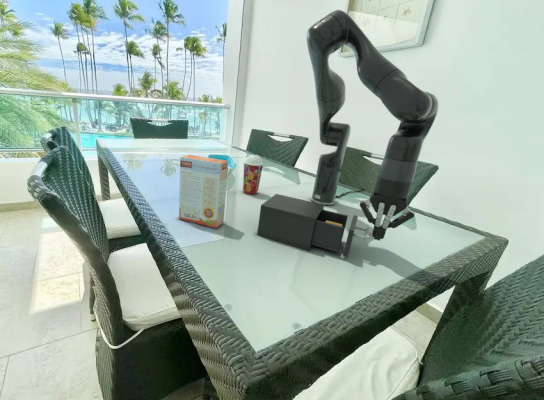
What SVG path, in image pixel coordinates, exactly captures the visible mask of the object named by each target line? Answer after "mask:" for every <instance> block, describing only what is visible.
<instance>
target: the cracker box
mask: <svg viewBox="0 0 544 400" xmlns="http://www.w3.org/2000/svg"><path fill="white" fill-rule="evenodd" d="M179 160H180V161H179V197H178V198H179V201H178V202H179V203H178V219H180V220H183V221H186V222H190V223H194V224H198V225H202V226H206V227H209V228H212V229H213V228H214V229H217V228H219V227H220V226H221V225H222V224H224V221H225V209H226V195H227V185H228V184H227V181H228V168H229V161H228V160H224V159H220V158H219V159H218V158H212V157H207V156H200V155H194V154H187V155H183V156H180V157H179Z"/></svg>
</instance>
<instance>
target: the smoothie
mask: <svg viewBox="0 0 544 400" xmlns="http://www.w3.org/2000/svg"><path fill="white" fill-rule="evenodd" d="M253 149H254V150H253V154H250V155H248V156H247V157H246V158H245V160H244V161H243V182H242V190H243V193H244V194H246V195H256V194H257V193H258V191H259V186H260V181H261V176H262V172H263V167H264V163H263V159H262V158H261V157H260V156H259V155H257V154H256V151H257V147H255V148H253Z"/></svg>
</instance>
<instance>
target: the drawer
mask: <svg viewBox="0 0 544 400" xmlns="http://www.w3.org/2000/svg"><path fill="white" fill-rule="evenodd" d="M348 217H349V215H347V214H344V213H339V212H335V211H330V210H326V209H324V210H322V211H321V213H320V214H319V216H318V217H317V219H316V221H315V226H314V231H313V236H312V240H311V245H312V246H314V247H318V248H322V249H325V250H329V251H332V252H335V253H339V250H340V247H341V244H342V240H343V238H344V233H345V229H346V227H347V221H348ZM358 218H359V216H358V215H355V214H353V215H352V219H351V223H350V226H349V230H348V232H347V233H348V234H347V237H346V241H345V244H344V245H345V246H344V249H343V252H342V253H343V254H342V257H344V258H348V257H349V253H350V248H351V245H352V242H353V238H358V239H361V240H364V242H366V243H370V242H371V240H372V232H373V229H372V228H370V227H366V228H364V227H361V226H357V222H358ZM326 220H327V221H331V222H335V223H339V224H342V227H341V226H337V225H333V224H330V223H326ZM356 230H358V231H364V235H360V234H358V233H357V234H356V233H355V231H356Z"/></svg>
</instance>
